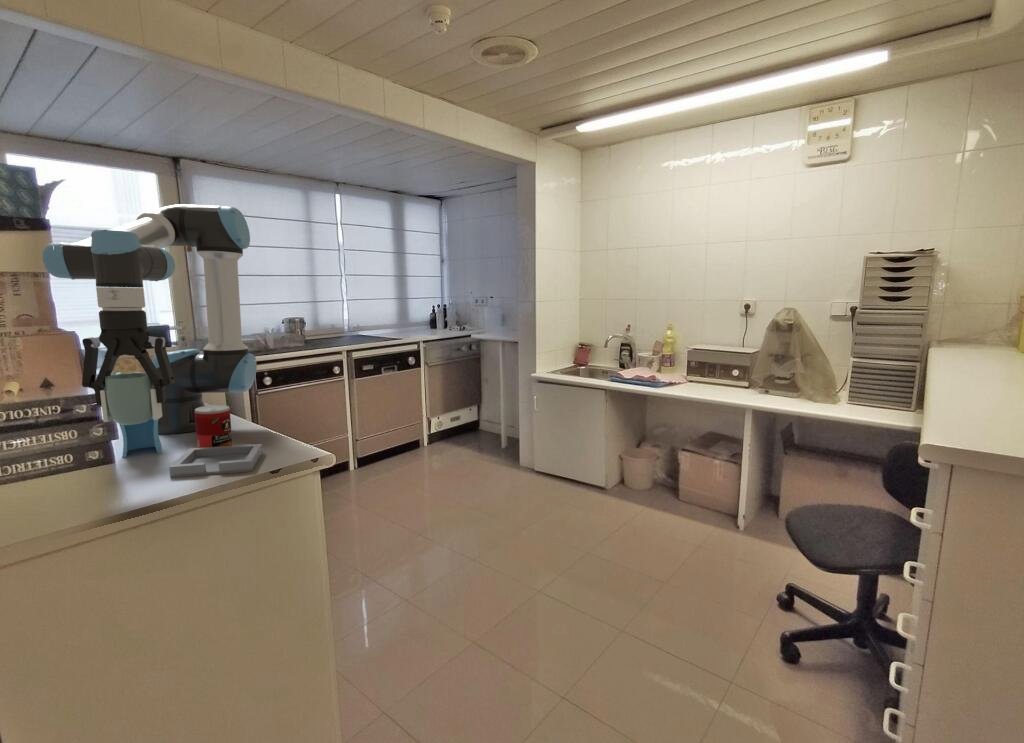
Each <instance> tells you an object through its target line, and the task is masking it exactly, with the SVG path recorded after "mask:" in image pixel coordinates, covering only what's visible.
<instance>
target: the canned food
mask: <svg viewBox="0 0 1024 743" xmlns="http://www.w3.org/2000/svg"><path fill="white" fill-rule="evenodd" d="M231 421H232V420H231V408H230V406H229V405H224V404H212V405H205V406H203V407H199V408H196V409H195V423H196V431H195V432H196V445H197V446H196V448H203V447H219V446H233V439H232V438H233V437H232V422H231Z"/></svg>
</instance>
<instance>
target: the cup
mask: <svg viewBox="0 0 1024 743" xmlns="http://www.w3.org/2000/svg"><path fill="white" fill-rule="evenodd" d="M153 387H154V385H153V383H152V382H151V380H150V379H149V377H148V375H147V374H146V372H125V373H121V374H116V373H114V374H111V375H109V376H106V377H105V389H106V397H107V403H108V408H109V412H110V414H111V417H112V419H113V421H114V422H115V423H117V424H118V425H119V424H121V425H135V424H141V423H144V422H147V421H148V420H150V419H151V417H152V415H153V413H152V402H151V392H150V389H152V388H153Z"/></svg>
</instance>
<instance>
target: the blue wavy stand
mask: <svg viewBox="0 0 1024 743" xmlns="http://www.w3.org/2000/svg"><path fill="white" fill-rule="evenodd" d="M115 374H122V373H121V371H119V372H116V373H115ZM118 425H119V428H120V431H121V435H122V440H123V448H122V456H121V458H123V459H124V458H127V455H128V452H129V451H133V450H137V449H147V448H155V449H156V453H157V454H160V453H161V454H162V452H163V451H162V449H163V446H162V443H161V439H160V435H159V433H158V420H153V415H152V417H151V419H150V420H148V421H147V422H144V423H141V424H135V425H121V424H118Z"/></svg>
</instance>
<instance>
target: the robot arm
mask: <svg viewBox="0 0 1024 743" xmlns="http://www.w3.org/2000/svg"><path fill="white" fill-rule="evenodd" d="M52 243H53V246H54V250H53V246H52ZM250 244H251V234H250V229H249V226H248V222H247V220H246V218H245V216H244V214H243V213H242V212H241V210H239V209H238V208H237V207H234V206H227V205H221V204H219V205H216V204H215V205H214V204H213V205H212V204H211V205H210V204H186V203H180V204H172V205H166V206H162V207H159V208H156V209H152V210H149V211H146V212H144V213H141V214H139V215H138V216H137V217H136V219H135V221H131V222H129V223H128V222H127V223H126V224H123V225H121V226H117V227H115V228H112V229H109V228H98V229H94V230H92V232H91V233H90V237H87V238H85V239H81V240H78V241H75V242H74V241H73V242H66V241H61V242H51V243H48V244H47V245H45V247H44V248H43V251H42V253H41V254H42V255H41V256H42V262H43V265H44V268H45V270H46V271H47V272H48V273H49V274H50V275H51V276H53V277H55V278H58V279H70V280H95V291H96V298H97V300H96V301H97V306H98V308H101V310H100V311H99V312H98V317H99V318H98V319H99V328H100V334H99V335H98V336H97V337H93V336H92V337H91V336H90V337H86V338H82V345H83V348H84V358H83V367H82V378H81V379H82V380H81V386H82V387H83V388H89V389H92V390H94V396H95V404H96V405H97V406H101V411H102V412H101V413H102V422H103V423H108V422H111V421H112V420H113V419H112V417H111V414H110V412H109V408H108V403H107V397H106V388H105V377H106V376H109V375H112V373H113V371H114V367H115V365H116V362H117V360H118V359H119V358H120V356H124V355H125V356H129V357H130V356H132V357H134V358H135V359H136V360H137V361H138V363H139V364H140V365H141V367H142V369H143V370H144V373H146V374H147V375H148V377H149V379H150V380H151V382H152V383H153V385H154V387H153V388H152V389H150V392H151V402H152V413H153V420H158V435H159V434H161V435H164V434H165V435H167V434H168V435H171V434H173V435H174V434H183V433H190V432H196V423H195V409H196V408H199V407H203V406H206V405H205V402H204V400H203V394H217V393H218V394H221V393H222V394H223V393H228V394H235V393H237V394H238V393H245V392H248V391H249V390H250V389H251V388H252V386H253V383H254V382H255V379H256V375H257V370H258V369H257V367H258V366H257V365H258V364H257V360H256V359H257V358H256V356H255V354H252V353H250V352H249V347H248V345H246V344H244V342H243V336H242V334H243V333H242V318H241V302H240V301H241V300H240V281H239V262H238V261H239V259H241V258H242V257H243V256H244V250H246V249H248V248H249V247H250ZM168 247H191V248H196V249H195V250H196V254H198V256H200V257H201V259H202V260H203V272H204V289H205V302H206V303H205V304H206V306H205V307H206V321H207V332H208V335H207V336H208V342H207V344H206V345H205V346H204V347H203V348H202V349H203V350H202V351H203V352H202V353H201V352H200V350H199V349H198V348H190V349H189V348H188V349H187V348H186V349H180V350H172V351H167V338H166V337H164V336H161V337H157V336H151V335H150V333H149V331H148V321H147V320H148V319H147V312H146V311H145V310H143V309H144V308H145V307H146V299H145V291H144V281H149V282H159V281H165V280H168V279H169V278H171V276H172V275H173V274H174V273H175V270H176V263H175V258H174V257H173V256H172V254H171V253H170V252H168V251H167V250H166V248H168ZM149 343H150V344H151V347H153V348H154V353H155V355H154V356H153V357H152V358H151V357H150V354H149V352H148V350H147V349H146V347H147V346H148V344H149ZM101 344H103V346H104V347H105V348H106V351H105V353H104V354H105V355H104V356H103V357H104V359H103V362H102V364H101V366H100V369H99V372H98V374H97V370H98V369H97V368H98V361H99V360H98V358H99V348H100V347H101ZM113 421H114V420H113Z"/></svg>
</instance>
